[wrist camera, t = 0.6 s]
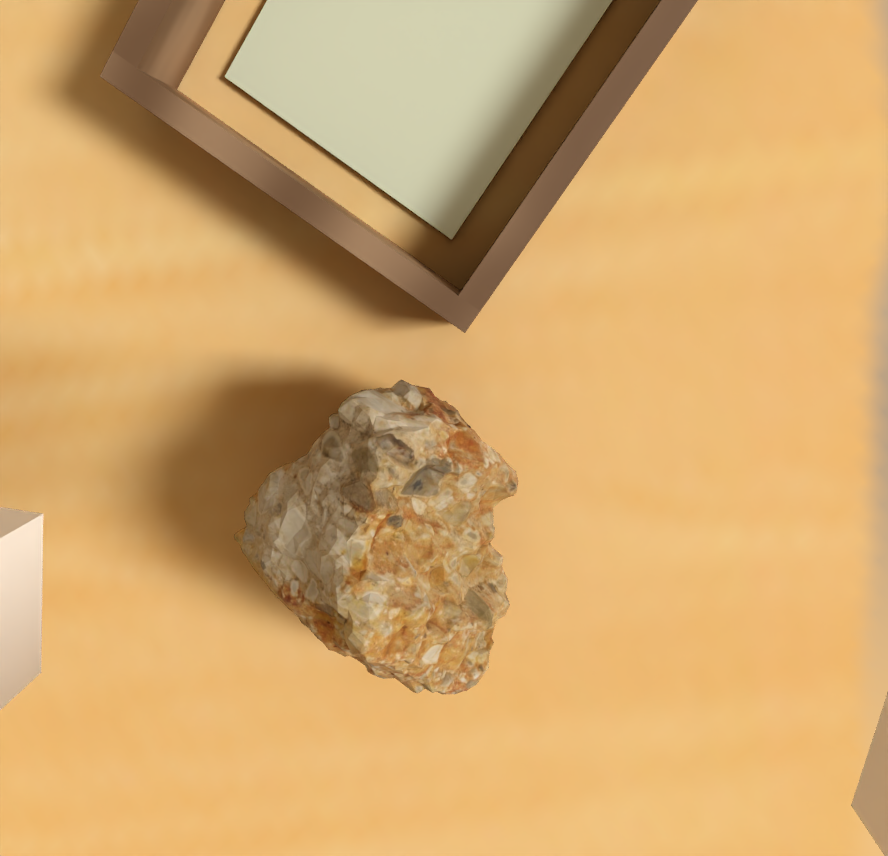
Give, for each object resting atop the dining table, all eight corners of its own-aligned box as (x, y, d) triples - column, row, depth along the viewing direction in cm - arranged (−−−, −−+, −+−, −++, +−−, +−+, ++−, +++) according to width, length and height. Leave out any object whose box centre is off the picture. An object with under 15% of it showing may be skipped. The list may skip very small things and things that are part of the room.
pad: (227, 78, 29) (224, 76, 29) (407, -246, 26) (406, -251, 26) (451, 239, 30) (451, 239, 30) (649, -55, 27) (651, -58, 27)
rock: (248, 483, 33) (152, 580, 23) (412, 332, 31) (381, 369, 21) (425, 661, 35) (404, 819, 25) (591, 528, 33) (637, 645, 23)
